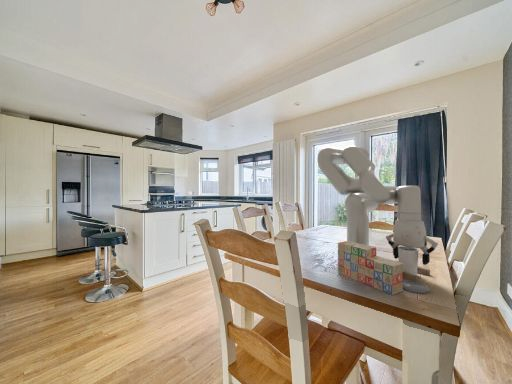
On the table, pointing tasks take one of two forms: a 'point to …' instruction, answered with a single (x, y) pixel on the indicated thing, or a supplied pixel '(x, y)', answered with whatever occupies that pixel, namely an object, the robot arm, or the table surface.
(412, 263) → the white cylinder
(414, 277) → the walnut rack
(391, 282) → the stack of blocks
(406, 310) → the table surface
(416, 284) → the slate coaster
